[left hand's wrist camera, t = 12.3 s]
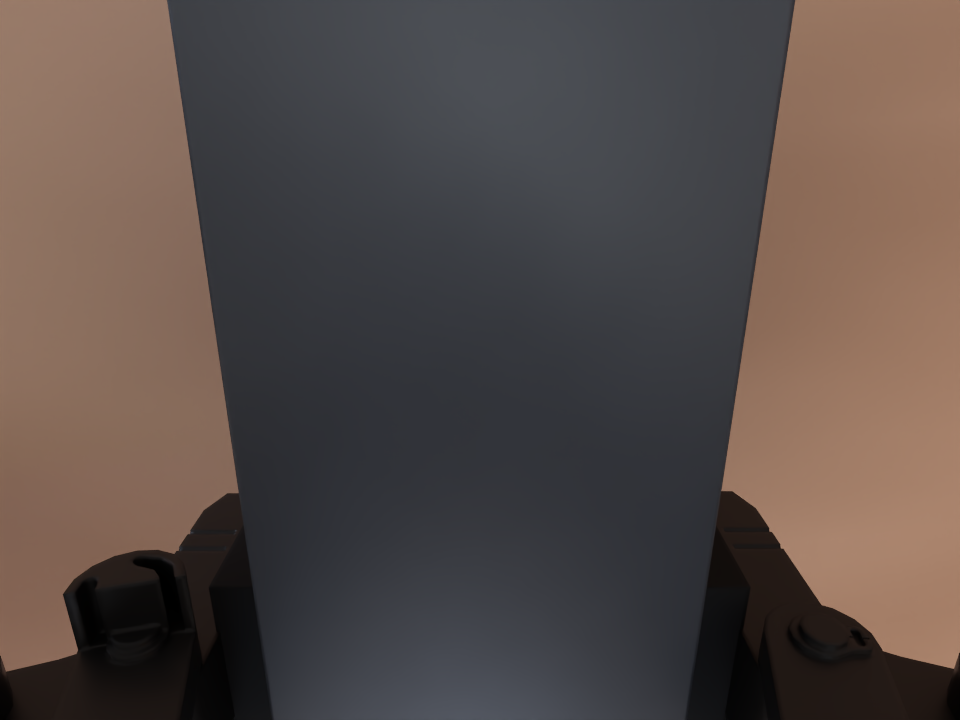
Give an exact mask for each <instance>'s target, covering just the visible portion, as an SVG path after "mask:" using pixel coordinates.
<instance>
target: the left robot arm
mask: <svg viewBox="0 0 960 720" xmlns="http://www.w3.org/2000/svg"><path fill="white" fill-rule="evenodd" d="M190 531H191V532H190V534H188V535H187V536H186V538H185V539H184V541H183V542H182V544H181V545H180V547H179V551H176V553H175V554H172V553H168V552H164V551H160V550H144V551H134V552H130V553H126V554H122V555H118V556H114V557H112V558H110V559H107V560H105V561H103V562H101V563H98V564H96V565H94V566H92V567H91V568H89V569H88V570H87V571H85V572H84V573H82V574H81V575H80V576H78V577H77V578H76V579H74V580H73V582H72V583H71V584H70V586H69V587H68V588H67V590H66V591H65V592H64V594H63V596H64V600H65V604H66V607H67V611H68V614H69V618H70V622H71V625H72V629H73V633H74V636H75V640H76V644H77V647H78V652H77V654H75V655H72V656H69V657H66V658H62V659H59V660H55V661H51V662H46V663H42V664H38V665H34V666H29V667H25V668H21V669H16V670H12V671H8V672H6V671H5V668H4V665H3V662H2V659H1V656H0V720H272V717H271V710H270V703H269V696H268V690H267V683H266V676H265V669H264V662H263V655H262V648H261V641H260V635H259V628H258V621H257V614H256V607H255V600H254V593H253V586H252V580H251V573H250V566H249V559H248V552H247V545H246V538H245V531H244V525H243V518H242V511H241V504H240V497H239V493H227V494H226V495H225V496H223V497H222V498H220V499H219V500H218V501H216V502H215V503H214V504H212V505H211V506H209V507H208V508H207V509H205V510H204V511H203V513H202V514H201V516H200V517H199V518H198V520H197V521H196V523H195V524H194V526H193V527H192V529H191V530H190ZM687 720H960V653H959V656H958V659H957V662H956V665H955V668H954V669H951V668H947V667H943V666H938V665H934V664H930V663H926V662H921V661H917V660H913V659H908V658H904V657H900V656H897V655H893V654H890V653H887V652H884V651H882V649H881V647H880V646H879V644H878V643H877V641H876V640H875V638H874V637H873V635H872V633H870V632H869V631H868V630H867V629H866V628H864V627H863V626H862V625H861V624H859V623H858V622H857V621H856V620H855V619H853V618H851V617H849V616H847V615H845V614H843V613H841V612H839V611H837V610H835V609H833V608H829V607H826V606H822V605H821V604H820V602H819V601H818V599H817V598H816V596H815V595H814V594H813V592H812V591H811V589H810V588H809V586H808V585H807V583H806V582H805V580H804V579H803V577H802V576H801V574H800V573H799V571H798V570H797V568H796V567H795V565H794V564H793V563H792V561H791V560H790V558H789V557H788V555H787V554H786V552H785V551H784V549H781V548H780V543H779V542H778V540H777V539H776V537H775V536H774V534H773V533H772V532H769V527H768V526H767V524H766V523H765V521H764V520H763V518H762V517H761V515H760V514H759V512H758V511H757V509H756V508H755V507H753V506H752V505H750V504H749V503H748V502H746V501H745V500H744V499H742V498H741V497H739V496H738V495H737V494H735V493H734V492H732V491H721V496H720V502H719V509H718V516H717V522H716V529H715V536H714V542H713V549H712V556H711V562H710V569H709V576H708V582H707V589H706V596H705V602H704V609H703V615H702V622H701V629H700V635H699V642H698V649H697V655H696V662H695V669H694V675H693V682H692V689H691V695H690V702H689V709H688V715H687Z"/></svg>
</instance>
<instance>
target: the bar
mask: <svg viewBox="0 0 960 720" xmlns="http://www.w3.org/2000/svg"><path fill="white" fill-rule="evenodd" d="M167 2H168V9H169V16H170V23H171V29H172V36H173V43H174V50H175V57H176V64H177V71H178V78H179V84H180V91H181V98H182V105H183V112H184V119H185V126H186V133H187V140H188V146H189V153H190V160H191V167H192V174H193V181H194V188H195V195H196V201H197V208H198V215H199V222H200V229H201V236H202V243H203V250H204V256H205V263H206V270H207V277H208V284H209V291H210V298H211V305H212V311H213V318H214V325H215V332H216V339H217V346H218V353H219V360H220V366H221V373H222V380H223V387H224V394H225V401H226V408H227V415H228V421H229V428H230V435H231V442H232V449H233V456H234V463H235V470H236V476H237V483H238V490H239V497H240V504H241V511H242V518H243V525H244V531H245V538H246V545H247V552H248V559H249V566H250V573H251V580H252V586H253V593H254V600H255V607H256V614H257V621H258V628H259V635H260V641H261V648H262V655H263V662H264V669H265V676H266V683H267V690H268V696H269V703H270V710H271V717H272V720H687V715H688V709H689V702H690V695H691V689H692V682H693V675H694V669H695V662H696V655H697V649H698V642H699V635H700V629H701V622H702V615H703V609H704V602H705V596H706V589H707V582H708V576H709V569H710V562H711V556H712V549H713V542H714V536H715V529H716V522H717V516H718V509H719V502H720V496H721V489H722V483H723V476H724V469H725V463H726V456H727V449H728V443H729V436H730V429H731V423H732V416H733V409H734V403H735V396H736V390H737V383H738V376H739V370H740V363H741V356H742V350H743V343H744V336H745V330H746V323H747V316H748V310H749V303H750V296H751V290H752V283H753V277H754V270H755V263H756V257H757V250H758V243H759V237H760V230H761V223H762V217H763V210H764V203H765V197H766V190H767V183H768V177H769V170H770V164H771V157H772V150H773V144H774V137H775V130H776V124H777V117H778V110H779V104H780V97H781V90H782V84H783V77H784V70H785V64H786V57H787V51H788V44H789V37H790V31H791V24H792V17H793V11H794V4H795V0H167Z"/></svg>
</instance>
